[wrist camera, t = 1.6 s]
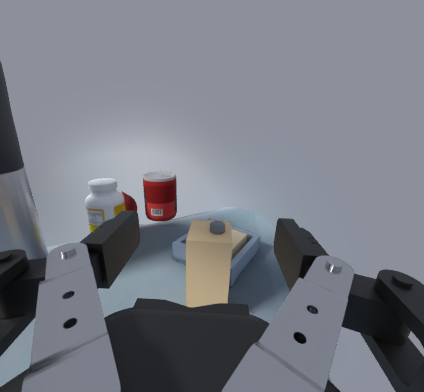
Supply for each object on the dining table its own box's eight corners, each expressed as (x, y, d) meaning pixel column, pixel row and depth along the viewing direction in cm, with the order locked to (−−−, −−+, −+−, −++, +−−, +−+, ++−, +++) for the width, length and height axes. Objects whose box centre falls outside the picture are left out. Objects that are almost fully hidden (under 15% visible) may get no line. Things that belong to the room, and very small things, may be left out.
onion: (130, 214, 55) (127, 185, 52) (142, 222, 51) (140, 191, 48) (108, 222, 50) (103, 190, 48) (120, 230, 47) (115, 197, 44)
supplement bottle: (126, 230, 47) (120, 175, 42) (131, 245, 42) (124, 184, 37) (92, 237, 44) (81, 178, 39) (93, 254, 38) (81, 188, 34)
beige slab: (188, 252, 38) (188, 238, 37) (211, 234, 45) (212, 222, 44) (226, 269, 34) (227, 254, 33) (245, 247, 41) (247, 234, 40)
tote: (172, 259, 38) (172, 242, 37) (208, 232, 48) (209, 218, 46) (230, 287, 32) (232, 268, 31) (258, 250, 42) (260, 235, 41)
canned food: (182, 216, 55) (181, 176, 51) (153, 225, 50) (150, 180, 46) (168, 207, 60) (167, 170, 57) (141, 213, 55) (137, 173, 52)
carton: (186, 322, 26) (185, 233, 22) (191, 291, 31) (192, 213, 27) (225, 325, 26) (233, 236, 22) (225, 294, 31) (231, 216, 27)
